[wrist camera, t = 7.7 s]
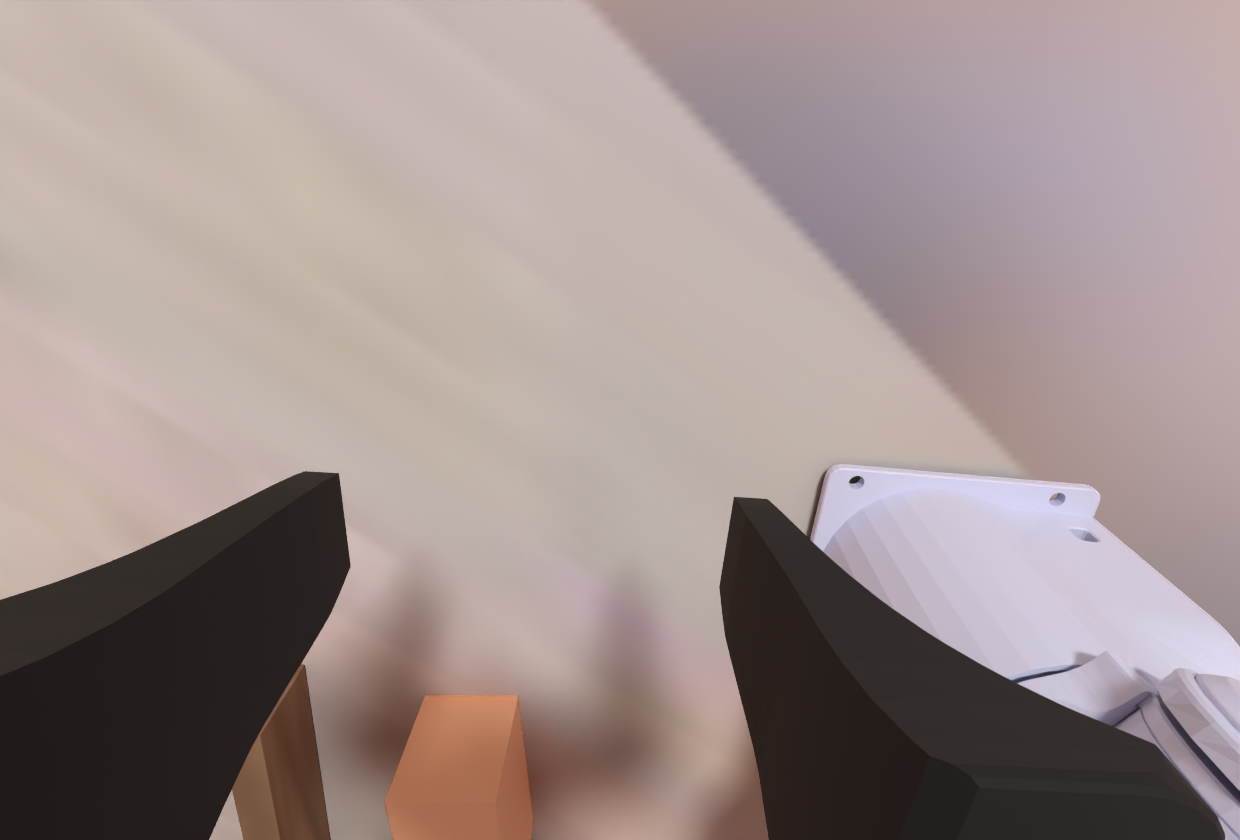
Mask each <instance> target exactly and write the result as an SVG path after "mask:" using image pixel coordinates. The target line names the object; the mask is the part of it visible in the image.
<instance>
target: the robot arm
mask: <svg viewBox="0 0 1240 840" xmlns="http://www.w3.org/2000/svg"><path fill="white" fill-rule="evenodd" d="M854 476H860V477H861V478H860V480H859V481H858V482H857V483H854V484H850V483H849V481H850V479H851V478H853V477H854ZM1056 493H1059V494H1058V496H1057V497H1056V498H1055V499H1053V500H1050V498H1051V497H1052V496H1053V495H1054V494H1056ZM1099 503H1100V494H1099V493H1098V492H1097V491H1096V490H1095V489H1094V488H1092V487H1091V486H1088V485H1085V484H1074V483H1061V482H1049V481H1038V480H1027V479H1015V478H1003V477H991V476H979V475H967V474H956V473H944V472H932V471H920V470H908V469H897V468H885V467H873V466H861V465H849V464H837V465H834V466H832V467H831V468H830V469H829V470H828V471H827V472H826V475H825V478H824V482H823V486H822V491H821V495H820V499H819V503H818V507H817V512H816V516H815V520H814V524H813V529H812V533H811V537H810V539H809V538H808V537H807V536H806V535H805V534H804V533H803V532H802V531H801V530H800V529H799V528H797V527H796V526H795V525H794V524H793V523H792V522H791V521H790V520H789V519H788V518H787V517H786V516H785V515H784V514H783V513H782V512H781V511H780V510H779V509H778V508H777V507H776V506H775V505H773V504H772V503H771V502H770V501H769V500H768V499H758V498H741V497H734V501H733V507H732V513H731V519H730V525H729V532H728V538H727V544H726V550H725V556H724V562H723V569H722V575H721V581H720V596H721V606H722V615H723V622H724V630H725V637H726V641H727V645H728V649H729V653H730V657H731V661H732V665H733V669H734V673H735V677H736V681H737V685H738V689H739V693H740V697H741V701H742V705H743V708H744V712H745V716H746V720H747V724H748V728H749V732H750V736H751V740H752V744H753V748H754V752H755V757H756V762H757V767H758V771H759V777H760V784H761V790H762V797H763V804H764V810H765V817H766V824H767V830H768V837H769V840H1240V647H1239V645H1238V644H1237V643H1236V642H1235V641H1234V639H1233V638H1232V637H1231V636H1230V634H1229V633H1228V632H1227V631H1226V630H1225V629H1224V628H1223V627H1222V626H1221V625H1220V624H1219V623H1218V622H1216V620H1215V619H1213V618H1212V617H1211V616H1210V615H1209V614H1207V613H1206V612H1205V611H1204V610H1203V609H1201V608H1200V607H1199V606H1198V605H1197V604H1195V603H1194V602H1193V601H1192V600H1191V599H1190V598H1188V597H1187V596H1186V595H1185V594H1184V593H1182V592H1181V591H1180V590H1179V589H1177V588H1176V587H1175V586H1174V585H1173V584H1172V583H1170V582H1169V581H1168V580H1167V579H1166V578H1164V577H1163V576H1162V575H1161V574H1160V573H1159V572H1157V571H1156V570H1155V569H1153V567H1151V566H1150V565H1149V564H1148V563H1146V562H1145V561H1144V560H1143V559H1142V558H1140V557H1139V556H1138V555H1137V554H1136V553H1135V552H1133V551H1132V550H1131V549H1130V548H1129V547H1127V546H1126V545H1125V544H1124V543H1123V542H1121V541H1120V540H1119V539H1118V538H1117V537H1116V536H1114V535H1113V534H1112V533H1111V532H1109V531H1108V530H1107V529H1106V528H1105V527H1104V526H1102V525H1101V524H1100V523H1099V522H1098V521H1096V520H1095V519H1094V518H1093V516H1094V514H1095V512H1096V509H1097V507H1098V505H1099ZM349 569H350V558H349V551H348V543H347V535H346V527H345V519H344V511H343V503H342V495H341V487H340V480H339V473H323V472H307V471H305V472H302V473H299V474H297V475H294V476H292V477H290V478H287V479H285V480H283V481H281V482H279V483H277V484H275V485H272V486H270V487H268V488H266V489H264V490H262V491H260V492H258V493H256V494H254V495H252V496H250V497H248V498H246V499H244V500H242V501H240V502H238V503H236V504H234V505H232V506H230V507H228V508H226V509H224V510H222V511H220V512H218V513H216V514H214V515H212V516H210V517H209V518H207V519H204V520H202V521H200V522H198V523H196V524H194V525H192V526H190V527H187V528H185V529H183V530H181V531H179V532H177V533H174V534H172V535H170V536H168V537H166V538H164V539H161V540H159V541H157V542H155V543H153V544H151V545H148V546H146V547H144V548H142V549H140V550H137V551H135V552H133V553H130V554H128V555H125V556H123V557H121V558H118V559H116V560H113V561H111V562H108V563H106V564H103V565H101V566H98V567H95V568H93V569H90V570H87V571H85V572H82V573H79V574H77V575H74V576H71V577H69V578H66V579H63V580H60V581H58V582H55V583H52V584H49V585H46V586H43V587H40V588H37V589H33V590H30V591H27V592H24V593H21V594H18V595H15V596H11V597H8V598H5V599H2V600H0V840H209V838H210V836H211V834H212V832H213V829H214V827H215V825H216V822H217V820H218V818H219V816H220V813H221V811H222V809H223V807H224V805H225V802H226V800H227V798H228V796H229V794H230V792H231V790H232V788H233V786H234V783H235V781H236V779H237V777H238V775H239V773H240V771H241V769H242V767H243V764H244V762H245V760H246V758H247V756H248V754H249V752H250V750H251V748H252V746H253V744H254V742H255V740H256V739H257V737H258V735H259V733H260V731H261V730H262V728H263V726H264V724H265V722H266V721H267V719H268V717H269V716H270V714H271V712H272V711H273V709H274V707H275V706H276V704H277V702H278V701H279V699H280V698H281V696H282V694H283V693H284V691H285V689H286V688H287V686H288V684H289V683H290V681H291V679H292V678H293V676H294V674H295V673H296V671H297V669H298V668H299V666H300V665H301V663H302V661H303V660H304V658H305V656H306V655H307V653H308V651H309V650H310V648H311V646H312V645H313V643H314V641H315V640H316V638H317V636H318V634H319V633H320V631H321V629H322V628H323V626H324V624H325V623H326V621H327V619H328V617H329V616H330V614H331V612H332V609H333V607H334V605H335V603H336V600H337V598H338V596H339V593H340V591H341V589H342V586H343V584H344V581H345V579H346V576H347V574H348V571H349Z"/></svg>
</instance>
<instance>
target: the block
mask: <svg viewBox="0 0 1240 840" xmlns="http://www.w3.org/2000/svg"><path fill="white" fill-rule="evenodd" d="M384 803H385V807H386V811H387V815H388V819H389V823H390V827H391V831H392V835H393V839H394V840H531V835H532V829H533V822H534V821H533V813H532V805H531V796H530V788H529V780H528V772H527V763H526V755H525V747H524V738H523V730H522V722H521V714H520V705H519V697H518V695H425V697H424V699H423V702H422V705H421V707H420V710H419V712H418V715H417V718H416V720H415V723H414V726H413V728H412V731H411V733H410V736H409V739H408V741H407V744H406V747H405V749H404V752H403V755H402V757H401V760H400V762H399V765H398V768H397V770H396V773H395V776H394V778H393V781H392V783H391V786H390V789H389V791H388V794H387V797H386V799H385V802H384Z"/></svg>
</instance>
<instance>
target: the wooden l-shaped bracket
mask: <svg viewBox="0 0 1240 840" xmlns="http://www.w3.org/2000/svg"><path fill="white" fill-rule="evenodd" d="M232 791H233V795H234V800H235V804H236V808H237V813H238V817H239V822H240V826H241V830H242V835H243V839H244V840H330V835H329V828H328V821H327V814H326V807H325V801H324V794H323V787H322V780H321V773H320V767H319V760H318V753H317V746H316V740H315V733H314V726H313V719H312V712H311V706H310V699H309V692H308V685H307V678H306V672H305V665H300V666H299V668H298V669H297V671H296V673H295V674H294V676H293V678H292V679H291V681H290V683H289V684H288V686H287V688H286V689H285V691H284V693H283V694H282V696H281V698H280V699H279V701H278V702H277V704H276V706H275V707H274V709H273V711H272V712H271V714H270V716H269V717H268V719H267V721H266V722H265V724H264V726H263V728H262V730H261V731H260V733H259V735H258V737H257V739H256V740H255V742H254V744H253V746H252V748H251V750H250V752H249V754H248V756H247V758H246V760H245V762H244V764H243V767H242V769H241V771H240V773H239V775H238V777H237V779H236V781H235V783H234V786H233V788H232Z"/></svg>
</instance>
